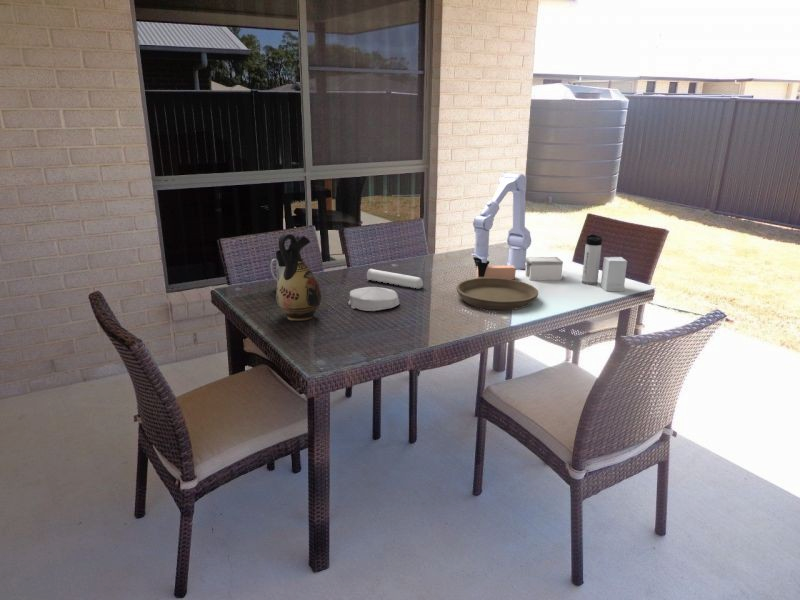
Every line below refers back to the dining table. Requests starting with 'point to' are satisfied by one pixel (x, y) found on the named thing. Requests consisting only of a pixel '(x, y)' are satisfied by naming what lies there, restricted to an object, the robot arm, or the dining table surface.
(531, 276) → the dispenser
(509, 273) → the orange long block
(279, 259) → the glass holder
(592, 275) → the travel mug
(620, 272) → the supplement box
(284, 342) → the dining table surface
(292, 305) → the ceramic jug
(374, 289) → the food container
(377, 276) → the tube
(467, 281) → the plant saucer
